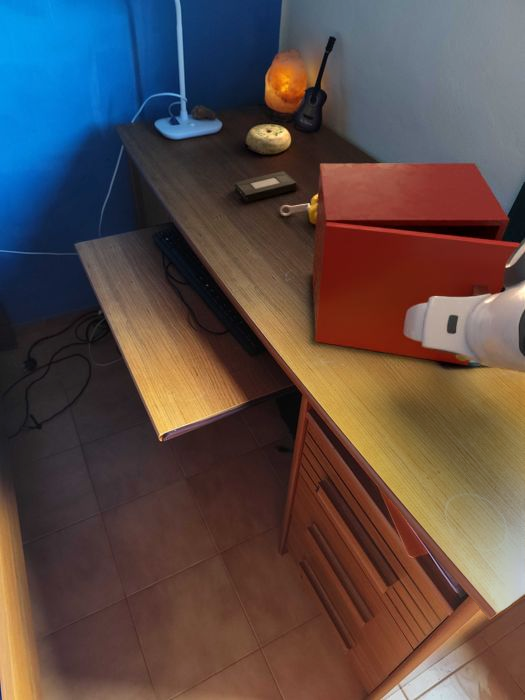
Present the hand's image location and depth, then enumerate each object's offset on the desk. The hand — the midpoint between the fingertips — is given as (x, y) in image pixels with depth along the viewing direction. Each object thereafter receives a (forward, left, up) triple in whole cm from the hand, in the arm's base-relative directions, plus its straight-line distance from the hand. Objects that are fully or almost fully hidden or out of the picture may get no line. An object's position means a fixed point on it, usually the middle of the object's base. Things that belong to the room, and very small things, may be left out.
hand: (469, 332), depth 68 cm
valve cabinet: (+9, -19, -11) cm, 24 cm away
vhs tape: (+33, -65, -12) cm, 74 cm away
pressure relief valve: (+23, -50, -12) cm, 56 cm away
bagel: (+33, -92, -12) cm, 98 cm away
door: (+9, -4, -11) cm, 15 cm away
